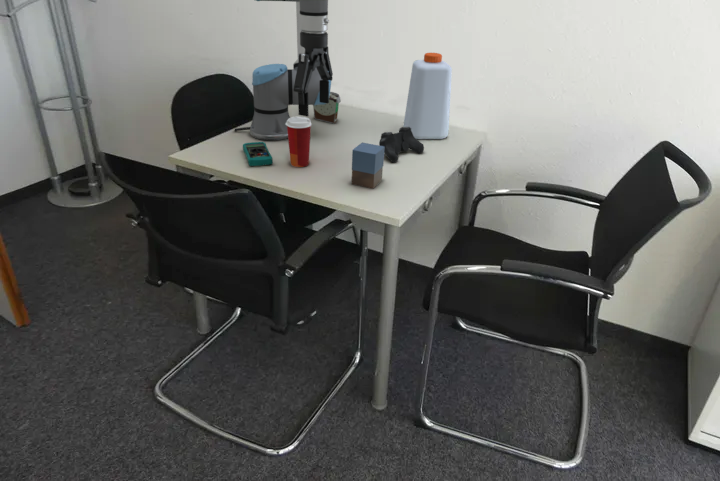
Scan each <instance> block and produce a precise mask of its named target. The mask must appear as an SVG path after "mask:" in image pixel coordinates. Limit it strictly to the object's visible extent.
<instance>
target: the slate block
mask: <svg viewBox="0 0 720 481" xmlns="http://www.w3.org/2000/svg"><path fill="white" fill-rule="evenodd" d="M384 149H385V147H384V146H379V144H373V143H368V142H361V143H359V144H358V145H356V146H355V147H354V148H353V149H352V152H351V171H352V170H355V171H360V172H365V173H370V174H375V173H376V172H378V171H379V170H380V169H381V168H382V167H383V168H384V163H385V161H384V160H385V153H384Z"/></svg>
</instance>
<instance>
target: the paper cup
mask: <svg viewBox="0 0 720 481" xmlns="http://www.w3.org/2000/svg"><path fill="white" fill-rule="evenodd" d="M286 125H287V130H288V138H287V141H288V150H289V151H288V152H289V162H290V165H291V166H292V167H295V168H305V167H307V166H309V162H310V150H311V148H310V147H311V131H312V130H311V128H312V125H313V123H312V121H311V119H310V118H309V117H307V116H292V117H291V116H290V118H289V119H288V120H287V122H286Z"/></svg>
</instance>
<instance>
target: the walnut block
mask: <svg viewBox="0 0 720 481" xmlns="http://www.w3.org/2000/svg"><path fill="white" fill-rule="evenodd" d="M383 169H384V166H383V167H382V168H381V169H380V170H379V171H378V172H376V173H375V174H370V173H365V172H360V171H355V170H352V169H351V185H353V186H359V187H363V188H368V189H372V190H373V189H375V188H376V187H377V186H378V185H379V184H380V183H381V182H382V181H383V171H384V170H383Z"/></svg>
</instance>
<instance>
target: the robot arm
mask: <svg viewBox="0 0 720 481" xmlns="http://www.w3.org/2000/svg"><path fill="white" fill-rule="evenodd" d="M255 1H256V2H295V10H296V11H295V14H296V15H295V16H296V46H297V47H296V48H297V59H296V61H294V62H293V64H292V66H293V67H292V69H289V68H288V66H287V64H284V63H271V64H269V63H268V64H264V65H261V66H258V67H256V68H254V70H253V71H252V76H251V77H252V82H251V85H252V95H253V110H254V112H253V116H252V120H251V124H250V126H244V127H236V128H234V129H233V130H234V132H241V131H250V132H249V133H250V136H251V137H252V138H255V139H257V140H262V141H281V140H282V141H283V140H286V139H287V140H288V130H287V125H286V122H287V120H288V119H289V118H291V116H290V113H289V106H298V108H297V110H298V116H301V117H309V105H310V106H313V105H324V104H326V103H327V104H328V103H329V96H330V92H331V87H332V81H333V75H334V74H333V67H332V64H331V59H330V54H329V46H328V45H329V33H328V32H327V31H328V29H329V23H330V20H329V0H255Z"/></svg>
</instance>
